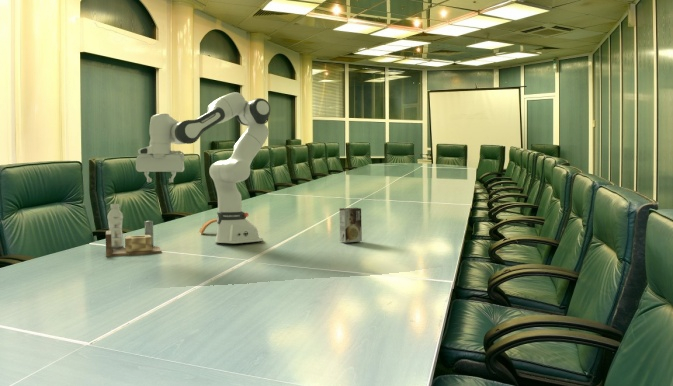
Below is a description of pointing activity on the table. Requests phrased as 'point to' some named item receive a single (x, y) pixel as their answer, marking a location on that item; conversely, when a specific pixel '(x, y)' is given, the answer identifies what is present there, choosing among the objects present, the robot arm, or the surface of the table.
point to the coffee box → (350, 225)
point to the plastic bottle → (115, 226)
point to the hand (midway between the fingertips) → (160, 182)
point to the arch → (207, 225)
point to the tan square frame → (138, 243)
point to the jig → (122, 251)
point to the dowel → (149, 230)
